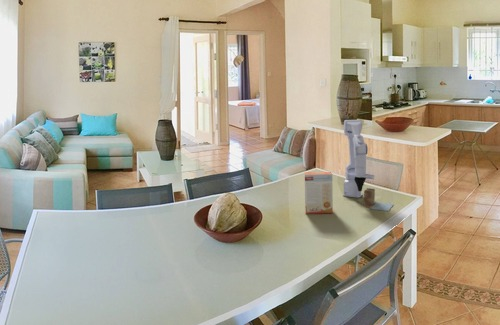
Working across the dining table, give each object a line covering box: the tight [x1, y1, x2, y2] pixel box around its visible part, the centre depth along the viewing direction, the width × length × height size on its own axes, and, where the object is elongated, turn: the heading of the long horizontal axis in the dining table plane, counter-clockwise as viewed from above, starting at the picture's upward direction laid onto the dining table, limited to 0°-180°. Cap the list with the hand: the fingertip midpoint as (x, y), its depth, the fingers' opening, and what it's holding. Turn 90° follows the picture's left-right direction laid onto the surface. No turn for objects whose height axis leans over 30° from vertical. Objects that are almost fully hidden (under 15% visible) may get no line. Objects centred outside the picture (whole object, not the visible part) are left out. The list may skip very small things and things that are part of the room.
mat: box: [370, 201, 395, 212], centre depth 230 cm, size 9×12×1 cm
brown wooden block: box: [363, 187, 376, 208], centre depth 232 cm, size 4×6×8 cm, turn 149°
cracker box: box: [304, 171, 334, 214], centre depth 224 cm, size 14×6×21 cm, turn 84°
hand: (360, 190), depth 234 cm, fingers closed
